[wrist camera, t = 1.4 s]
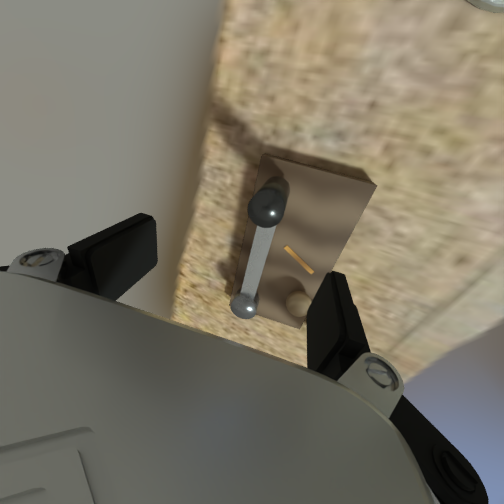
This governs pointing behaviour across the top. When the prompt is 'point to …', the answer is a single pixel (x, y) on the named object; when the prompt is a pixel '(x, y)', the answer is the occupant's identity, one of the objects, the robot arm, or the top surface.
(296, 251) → the board
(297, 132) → the top surface
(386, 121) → the top surface
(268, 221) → the lever
